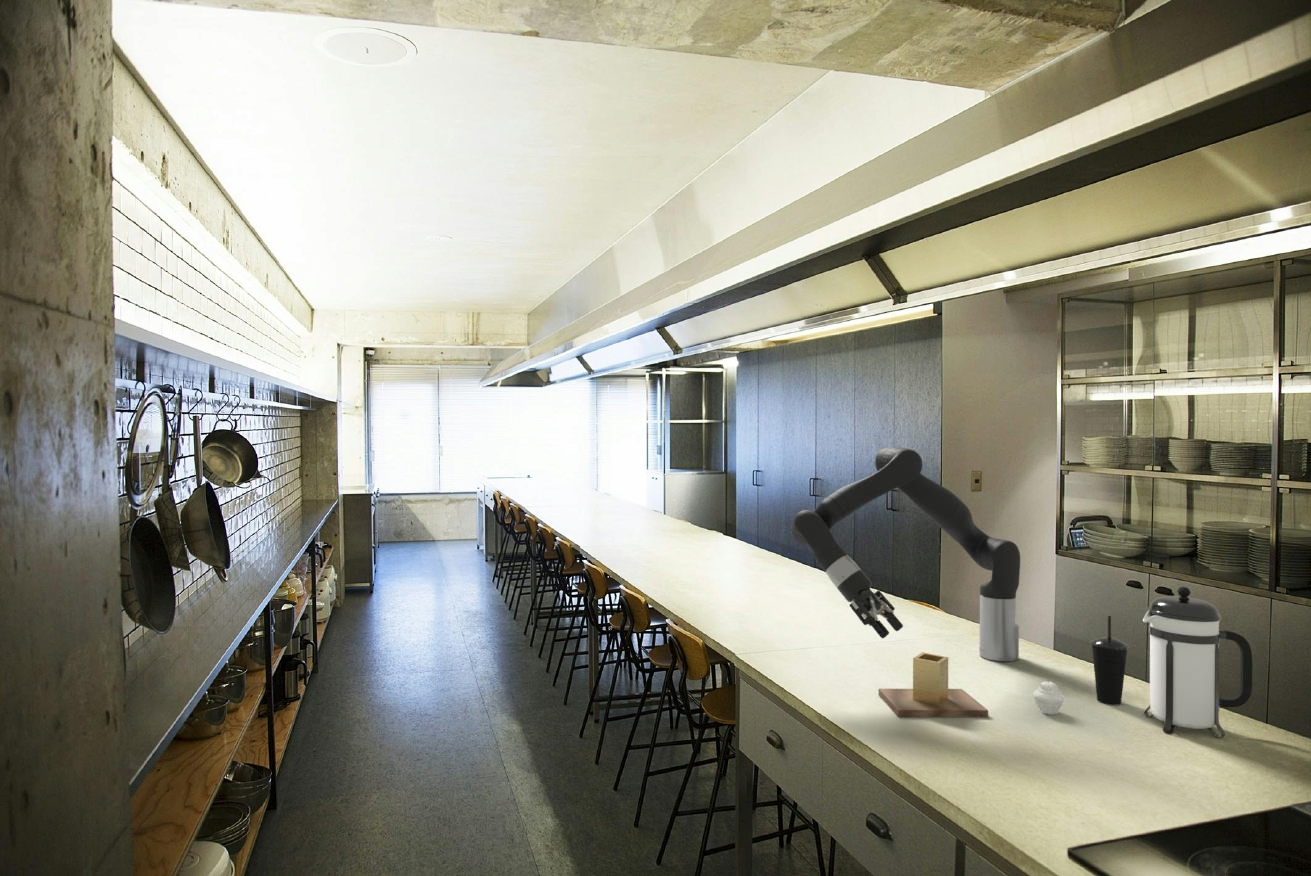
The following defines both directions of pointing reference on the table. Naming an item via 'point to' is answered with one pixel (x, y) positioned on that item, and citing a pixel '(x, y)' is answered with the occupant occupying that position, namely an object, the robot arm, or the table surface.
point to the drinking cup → (1109, 667)
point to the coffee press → (1190, 663)
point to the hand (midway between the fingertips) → (893, 632)
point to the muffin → (1048, 698)
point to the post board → (952, 707)
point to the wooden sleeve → (930, 678)
